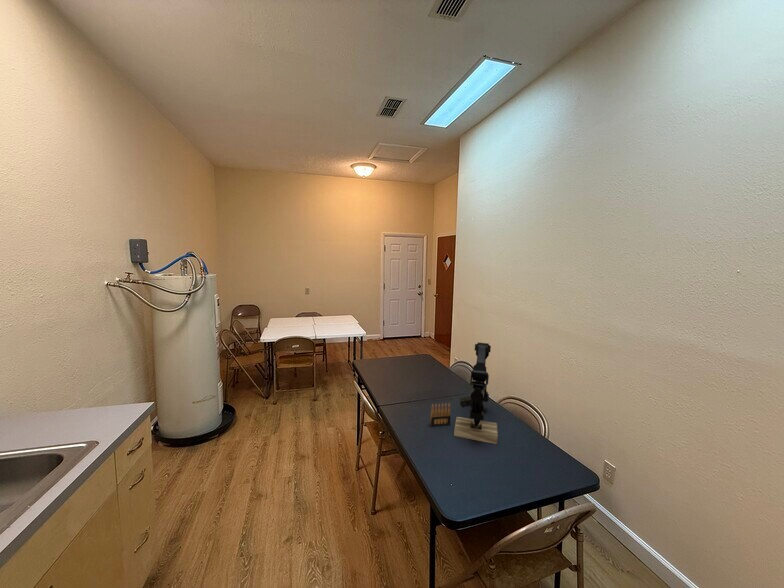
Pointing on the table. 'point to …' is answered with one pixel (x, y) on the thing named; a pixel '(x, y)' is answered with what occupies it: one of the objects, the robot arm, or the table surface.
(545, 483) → the table surface
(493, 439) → the hole block
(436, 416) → the ammunition clip
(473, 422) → the metal peg
